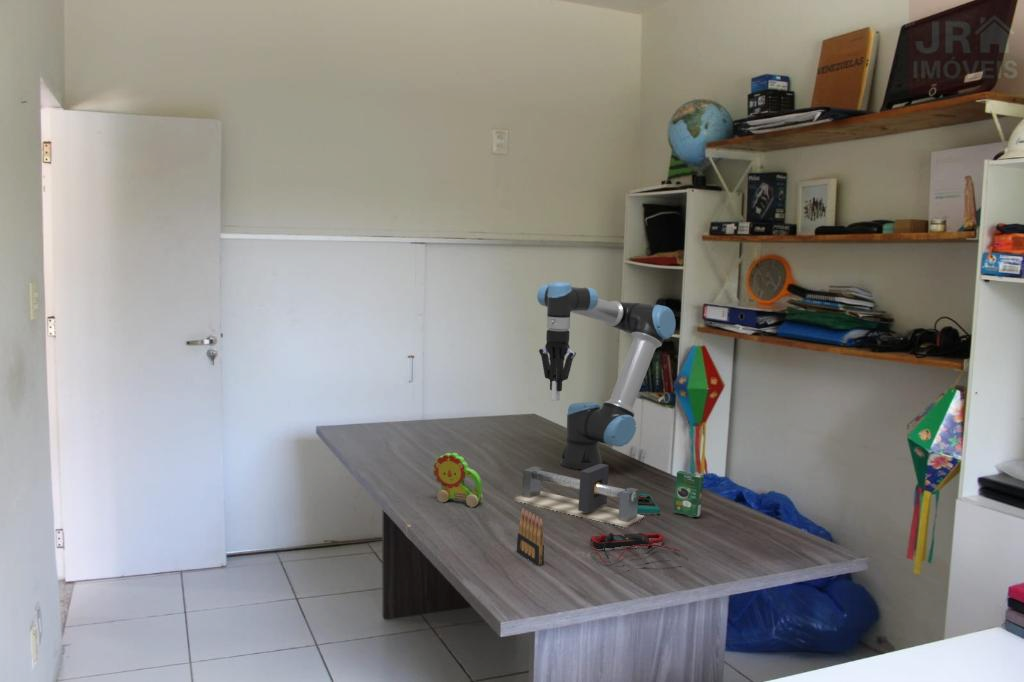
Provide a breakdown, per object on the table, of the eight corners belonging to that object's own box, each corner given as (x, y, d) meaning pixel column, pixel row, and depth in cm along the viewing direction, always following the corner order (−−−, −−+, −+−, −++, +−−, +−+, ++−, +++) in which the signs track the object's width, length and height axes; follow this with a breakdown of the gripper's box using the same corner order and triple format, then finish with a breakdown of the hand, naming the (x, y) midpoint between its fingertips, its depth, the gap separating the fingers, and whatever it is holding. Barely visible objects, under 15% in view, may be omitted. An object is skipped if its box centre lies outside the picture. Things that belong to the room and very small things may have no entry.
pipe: (522, 496, 267) (523, 469, 266) (532, 492, 271) (533, 465, 270) (627, 522, 246) (629, 492, 245) (636, 517, 251) (638, 488, 250)
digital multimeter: (650, 502, 271) (650, 493, 271) (659, 516, 257) (660, 507, 256) (627, 501, 271) (628, 492, 271) (635, 516, 256) (636, 506, 256)
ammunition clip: (516, 551, 222) (518, 507, 220) (522, 550, 222) (524, 506, 221) (537, 566, 212) (539, 519, 211) (543, 564, 213) (546, 518, 212)
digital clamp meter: (575, 528, 230) (659, 523, 237) (575, 544, 230) (658, 539, 237) (609, 560, 207) (701, 553, 214) (608, 578, 208) (699, 570, 215)
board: (513, 500, 265) (513, 497, 265) (534, 492, 275) (535, 489, 275) (625, 528, 243) (625, 525, 243) (644, 518, 253) (644, 515, 253)
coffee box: (701, 517, 257) (704, 475, 255) (697, 519, 254) (700, 476, 253) (676, 511, 261) (679, 469, 260) (672, 513, 259) (675, 471, 257)
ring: (578, 510, 252) (580, 471, 250) (598, 501, 261) (600, 463, 260) (587, 512, 250) (589, 472, 248) (606, 503, 260) (608, 465, 258)
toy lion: (483, 503, 261) (485, 455, 259) (476, 508, 256) (478, 459, 254) (437, 496, 267) (438, 448, 265) (429, 500, 262) (431, 452, 260)
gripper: (535, 328, 278) (532, 399, 281) (569, 332, 271) (567, 404, 274) (546, 327, 284) (544, 396, 287) (581, 330, 277) (578, 401, 280)
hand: (555, 400), depth 280 cm, fingers closed
